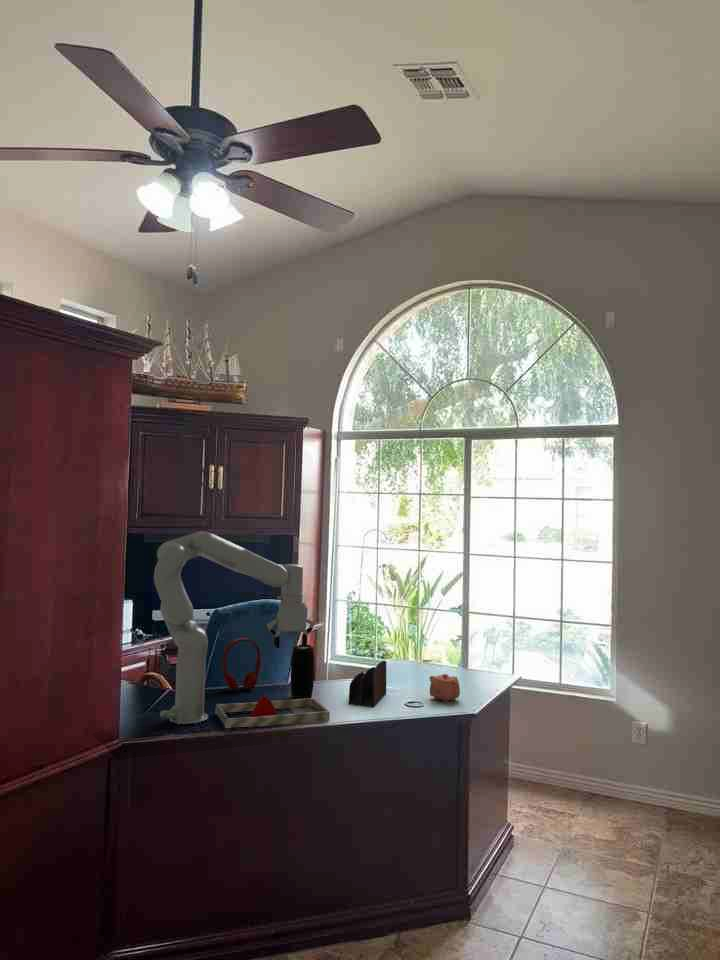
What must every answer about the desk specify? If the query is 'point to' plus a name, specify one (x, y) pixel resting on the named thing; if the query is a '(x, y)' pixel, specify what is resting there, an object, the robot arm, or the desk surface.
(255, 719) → the shallow open box tray
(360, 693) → the letter holder
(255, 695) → the desk surface
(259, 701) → the gemstone
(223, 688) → the desk surface
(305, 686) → the portable speaker
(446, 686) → the teapot
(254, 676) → the headphones
